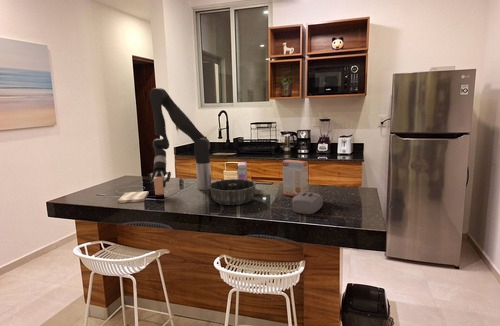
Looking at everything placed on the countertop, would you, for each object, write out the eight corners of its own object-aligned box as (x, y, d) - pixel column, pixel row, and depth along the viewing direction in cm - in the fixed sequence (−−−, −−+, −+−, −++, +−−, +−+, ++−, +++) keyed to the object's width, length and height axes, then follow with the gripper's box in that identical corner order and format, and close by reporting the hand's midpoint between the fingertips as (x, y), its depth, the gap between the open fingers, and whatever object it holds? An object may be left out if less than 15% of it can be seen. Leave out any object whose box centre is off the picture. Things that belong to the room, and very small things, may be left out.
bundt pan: (246, 210, 163) (246, 191, 161) (201, 206, 172) (200, 188, 170) (262, 196, 187) (262, 180, 186) (221, 193, 196) (221, 178, 195)
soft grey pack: (317, 216, 152) (327, 204, 169) (317, 199, 150) (327, 189, 168) (287, 212, 158) (300, 201, 176) (287, 196, 157) (300, 187, 175)
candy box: (246, 190, 202) (246, 165, 199) (237, 190, 202) (236, 165, 200) (247, 185, 216) (246, 161, 213) (238, 185, 216) (238, 161, 213)
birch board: (148, 193, 201) (148, 191, 201) (143, 201, 183) (143, 198, 183) (125, 194, 199) (125, 192, 199) (118, 203, 181) (117, 200, 181)
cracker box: (308, 196, 185) (308, 161, 181) (302, 198, 181) (302, 162, 177) (288, 192, 194) (288, 159, 191) (282, 194, 190) (282, 160, 187)
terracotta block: (164, 192, 196) (163, 176, 194) (163, 194, 191) (162, 177, 189) (156, 192, 195) (154, 176, 193) (155, 194, 190) (153, 178, 189)
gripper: (147, 161, 196) (145, 185, 186) (170, 160, 198) (170, 183, 188) (149, 168, 202) (147, 191, 193) (172, 167, 204) (172, 189, 194)
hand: (159, 187), depth 191 cm, fingers closed on terracotta block, 5 cm apart
